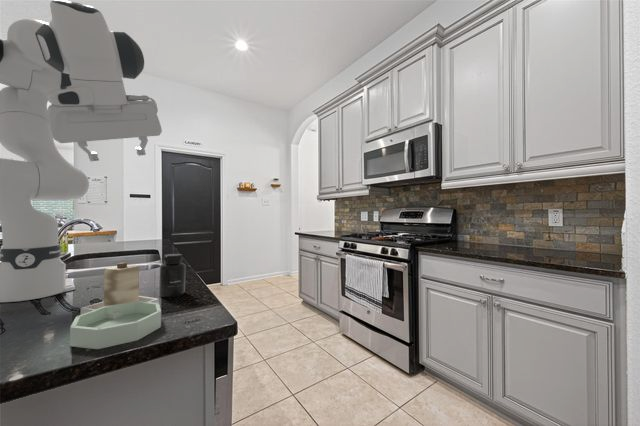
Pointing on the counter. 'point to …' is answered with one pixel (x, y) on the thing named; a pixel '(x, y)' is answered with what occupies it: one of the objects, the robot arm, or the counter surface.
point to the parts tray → (117, 314)
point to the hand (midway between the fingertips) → (119, 157)
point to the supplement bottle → (172, 276)
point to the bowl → (115, 325)
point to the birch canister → (121, 284)
